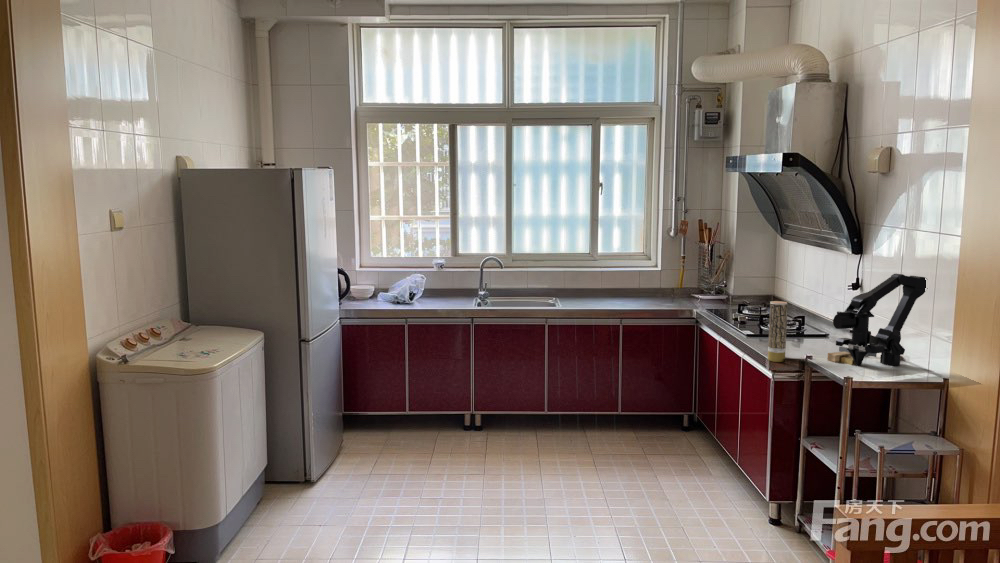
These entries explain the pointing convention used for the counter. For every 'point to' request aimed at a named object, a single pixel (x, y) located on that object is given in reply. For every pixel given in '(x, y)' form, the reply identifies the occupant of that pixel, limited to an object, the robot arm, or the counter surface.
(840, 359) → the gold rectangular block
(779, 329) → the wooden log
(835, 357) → the light wood notched block
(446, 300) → the counter surface
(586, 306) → the counter surface
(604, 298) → the counter surface
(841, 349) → the grey u channel block
